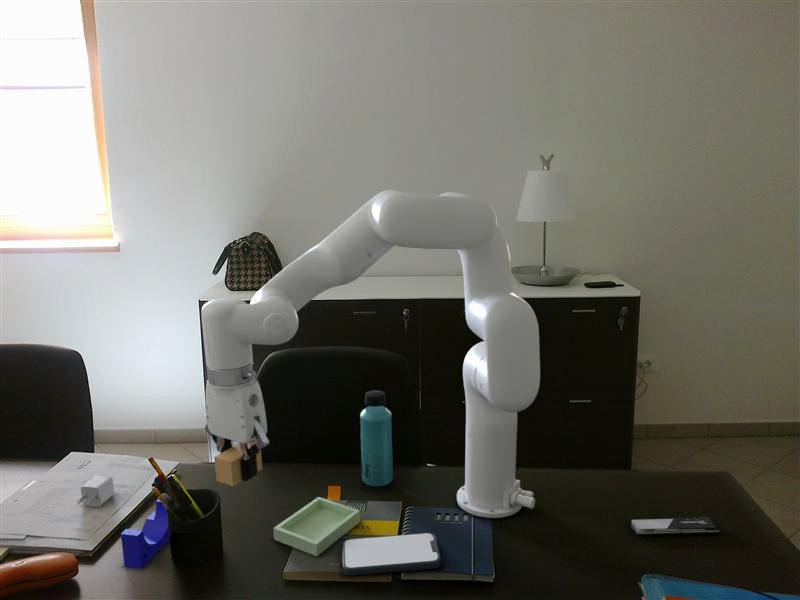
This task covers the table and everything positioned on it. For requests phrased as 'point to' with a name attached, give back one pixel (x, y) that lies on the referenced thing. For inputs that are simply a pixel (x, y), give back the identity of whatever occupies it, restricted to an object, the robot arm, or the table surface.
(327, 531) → the shallow green tray
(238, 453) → the wooden block
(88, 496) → the usb wall charger
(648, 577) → the table surface
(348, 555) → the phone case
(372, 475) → the beverage bottle
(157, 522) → the blue tape dispenser
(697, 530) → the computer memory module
